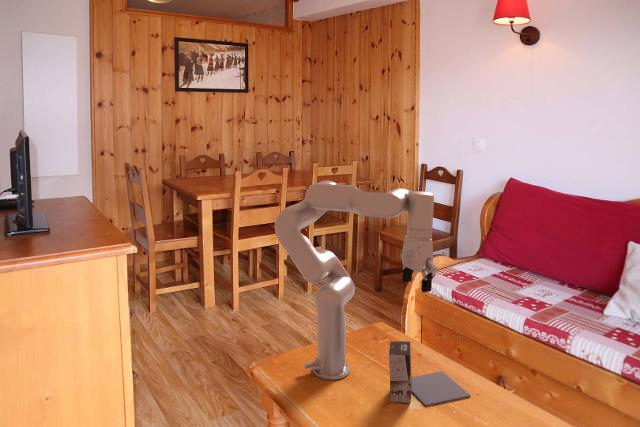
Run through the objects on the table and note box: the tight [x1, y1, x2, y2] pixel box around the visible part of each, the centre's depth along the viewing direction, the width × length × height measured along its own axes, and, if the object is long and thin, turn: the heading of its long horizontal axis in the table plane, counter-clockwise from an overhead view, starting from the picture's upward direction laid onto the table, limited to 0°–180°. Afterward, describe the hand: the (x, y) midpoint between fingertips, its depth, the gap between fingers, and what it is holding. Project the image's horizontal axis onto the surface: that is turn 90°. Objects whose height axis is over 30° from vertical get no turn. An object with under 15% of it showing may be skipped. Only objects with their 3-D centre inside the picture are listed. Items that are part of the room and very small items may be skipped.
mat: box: [411, 370, 471, 407], centre depth 170 cm, size 16×16×1 cm
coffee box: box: [388, 340, 412, 404], centre depth 164 cm, size 9×6×16 cm
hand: (416, 286), depth 163 cm, fingers open, 9 cm apart
